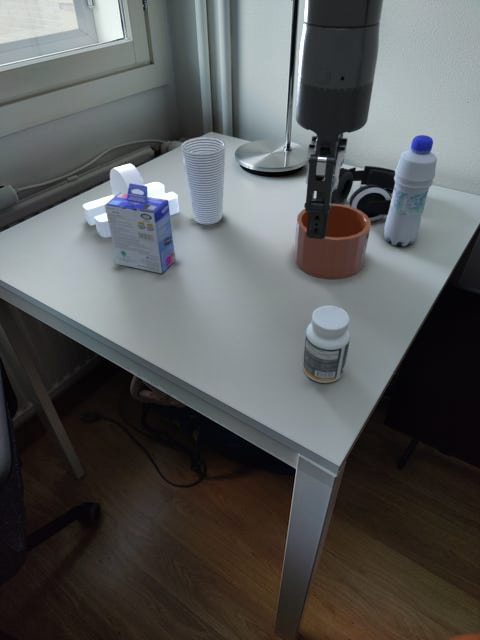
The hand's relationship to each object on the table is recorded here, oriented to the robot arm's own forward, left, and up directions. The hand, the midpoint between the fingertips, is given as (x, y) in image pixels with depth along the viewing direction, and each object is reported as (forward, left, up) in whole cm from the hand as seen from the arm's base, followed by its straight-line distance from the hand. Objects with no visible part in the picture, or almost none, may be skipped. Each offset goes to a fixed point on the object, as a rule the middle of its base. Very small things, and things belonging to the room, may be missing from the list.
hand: (320, 219), depth 57 cm
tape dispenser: (+40, -31, -20) cm, 54 cm away
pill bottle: (-3, +6, -20) cm, 21 cm away
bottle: (-15, -31, -20) cm, 40 cm away
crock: (-2, -22, -20) cm, 29 cm away
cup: (+24, -33, -20) cm, 45 cm away
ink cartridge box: (+31, -15, -20) cm, 40 cm away
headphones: (-10, -45, -20) cm, 50 cm away
